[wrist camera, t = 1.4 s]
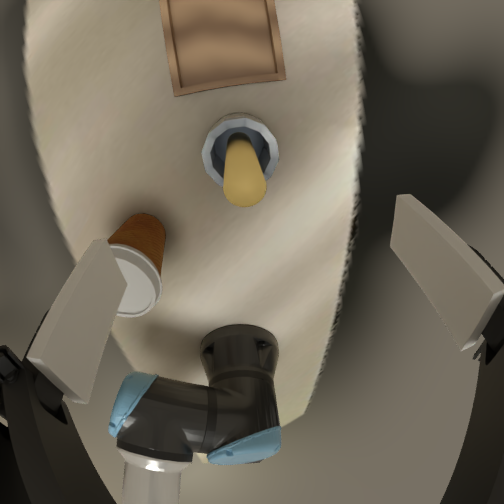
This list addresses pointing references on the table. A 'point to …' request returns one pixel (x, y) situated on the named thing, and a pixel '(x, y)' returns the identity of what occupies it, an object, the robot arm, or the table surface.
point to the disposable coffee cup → (139, 262)
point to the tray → (221, 43)
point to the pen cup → (258, 135)
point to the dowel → (242, 172)
